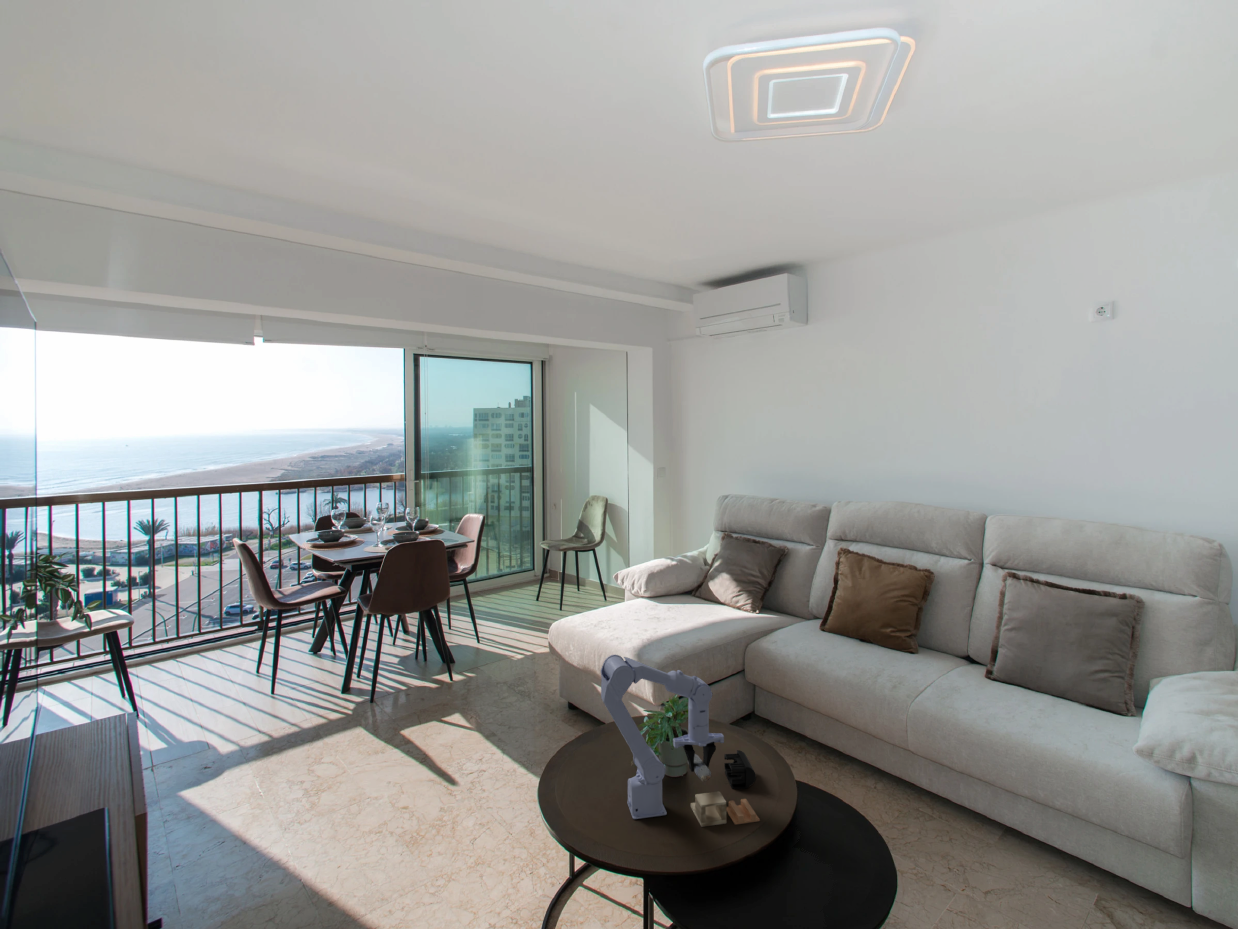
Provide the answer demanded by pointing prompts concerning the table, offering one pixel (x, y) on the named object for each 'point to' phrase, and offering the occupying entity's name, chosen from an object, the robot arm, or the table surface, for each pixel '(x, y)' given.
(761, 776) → the table surface
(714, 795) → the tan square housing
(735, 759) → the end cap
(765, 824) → the table surface
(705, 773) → the axle
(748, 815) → the cradle
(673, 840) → the table surface
